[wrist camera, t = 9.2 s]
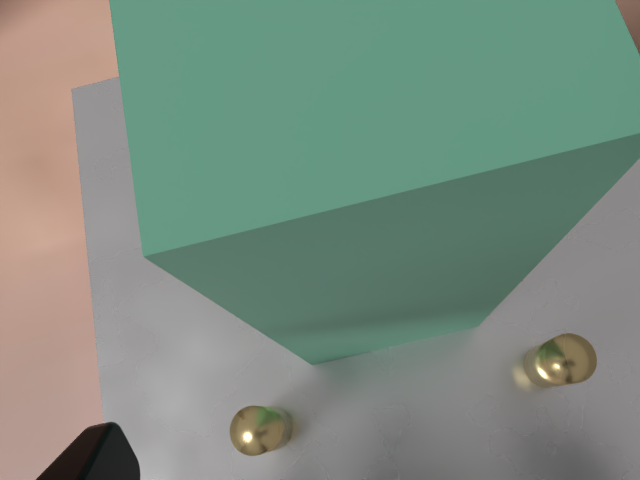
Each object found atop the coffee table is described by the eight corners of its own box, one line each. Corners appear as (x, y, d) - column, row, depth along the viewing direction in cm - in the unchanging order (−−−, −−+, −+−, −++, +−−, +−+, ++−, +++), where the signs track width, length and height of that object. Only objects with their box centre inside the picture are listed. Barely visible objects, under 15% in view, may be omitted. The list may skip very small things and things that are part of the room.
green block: (478, 326, 17) (671, 126, 5) (312, 365, 17) (143, 256, 6) (431, 173, 19) (501, -249, 7) (279, 211, 19) (91, -133, 7)
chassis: (780, 512, 16) (883, 537, 13) (141, 647, 17) (79, 704, 13) (558, -20, 21) (588, -100, 18) (85, 103, 22) (30, 47, 19)
